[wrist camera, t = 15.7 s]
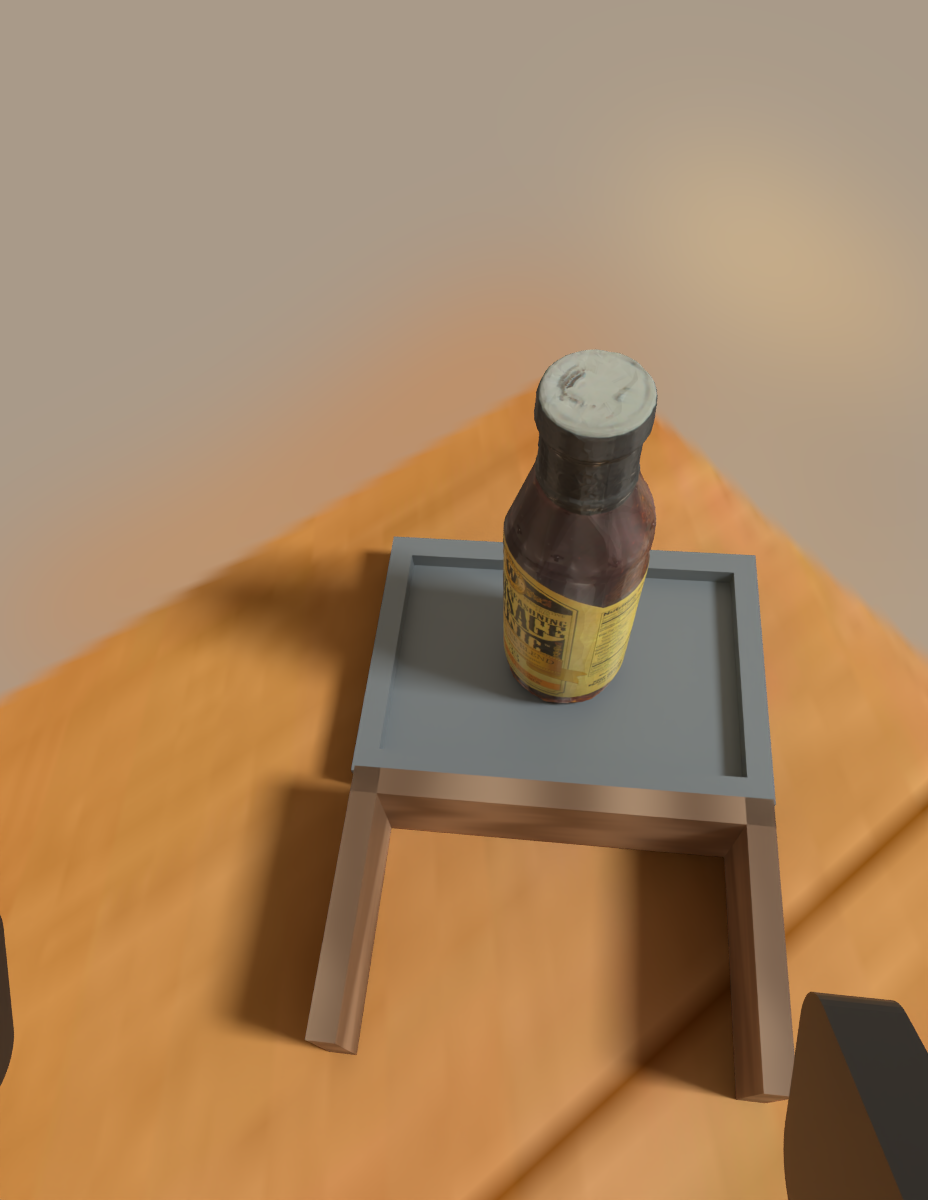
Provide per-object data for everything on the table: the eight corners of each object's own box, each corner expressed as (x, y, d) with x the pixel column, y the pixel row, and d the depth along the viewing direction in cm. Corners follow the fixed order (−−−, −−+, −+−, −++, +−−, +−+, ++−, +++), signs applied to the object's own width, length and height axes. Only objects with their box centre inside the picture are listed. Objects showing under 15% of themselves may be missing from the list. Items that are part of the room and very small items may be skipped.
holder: (329, 1051, 38) (304, 1040, 34) (371, 802, 44) (354, 765, 39) (765, 1103, 36) (797, 1097, 32) (748, 834, 42) (773, 799, 38)
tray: (358, 785, 44) (351, 769, 42) (398, 558, 52) (394, 536, 50) (764, 819, 42) (775, 804, 40) (746, 577, 49) (755, 555, 48)
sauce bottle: (485, 633, 47) (463, 348, 30) (588, 591, 48) (622, 293, 31) (538, 736, 44) (547, 479, 27) (648, 688, 45) (722, 413, 28)
